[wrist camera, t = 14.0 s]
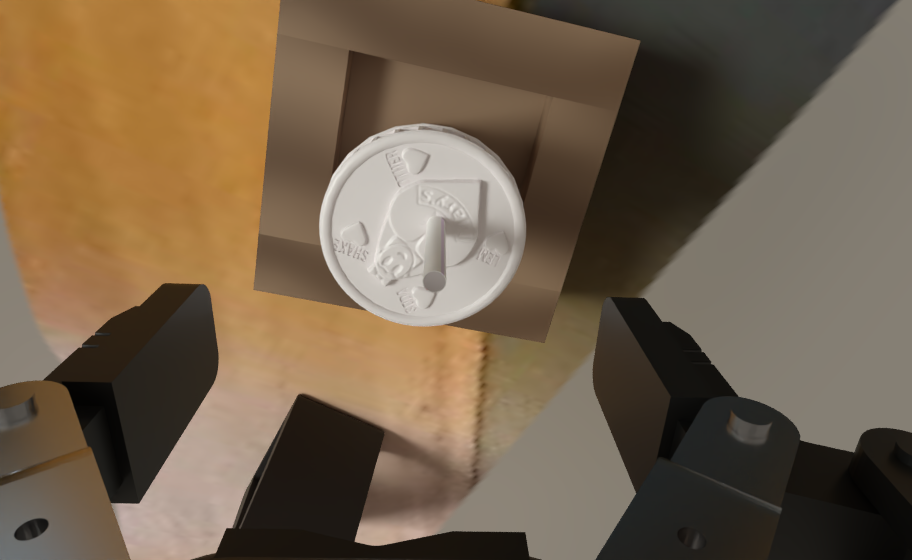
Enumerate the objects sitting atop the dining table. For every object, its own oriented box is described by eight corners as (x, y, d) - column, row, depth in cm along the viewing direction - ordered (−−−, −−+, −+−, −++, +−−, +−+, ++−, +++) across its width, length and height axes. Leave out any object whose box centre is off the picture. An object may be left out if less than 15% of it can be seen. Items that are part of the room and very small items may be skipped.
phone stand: (299, 391, 37) (239, 549, 26) (385, 429, 38) (363, 595, 27) (244, 490, 40) (170, 669, 29) (326, 522, 41) (284, 705, 30)
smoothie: (529, 167, 27) (608, 298, 14) (429, 259, 29) (418, 451, 16) (429, 58, 25) (415, 96, 12) (328, 163, 27) (222, 295, 14)
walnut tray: (317, -32, 28) (285, -47, 22) (599, 36, 29) (640, 40, 24) (286, 241, 33) (253, 289, 27) (526, 287, 35) (544, 342, 29)
